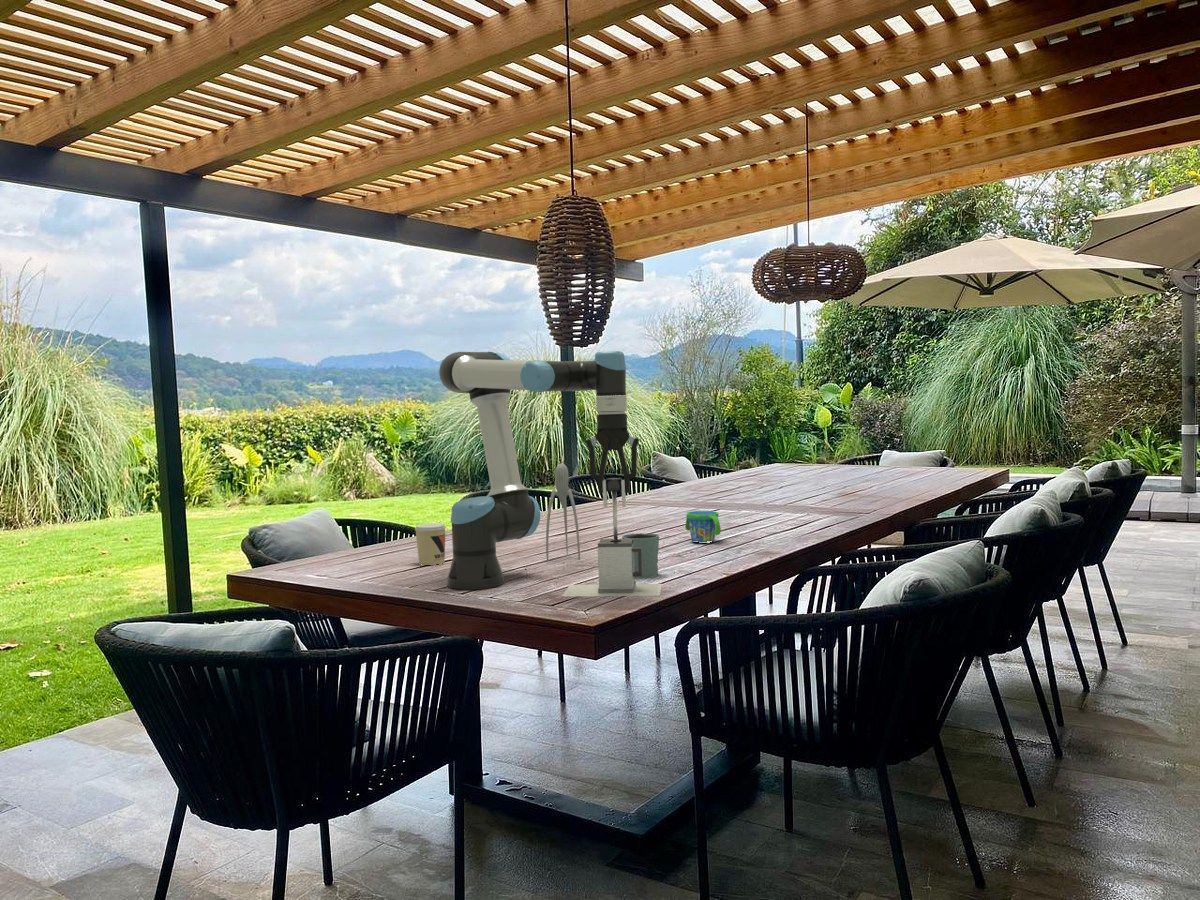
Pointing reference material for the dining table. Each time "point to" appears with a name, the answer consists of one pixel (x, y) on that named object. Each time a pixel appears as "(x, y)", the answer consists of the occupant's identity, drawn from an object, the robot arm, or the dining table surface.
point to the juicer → (562, 503)
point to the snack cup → (703, 525)
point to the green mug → (646, 553)
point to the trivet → (593, 591)
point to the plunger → (614, 500)
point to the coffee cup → (431, 543)
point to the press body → (617, 565)
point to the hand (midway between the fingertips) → (614, 506)
